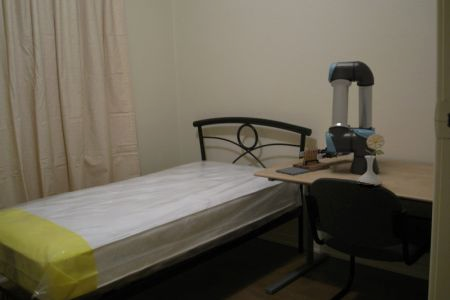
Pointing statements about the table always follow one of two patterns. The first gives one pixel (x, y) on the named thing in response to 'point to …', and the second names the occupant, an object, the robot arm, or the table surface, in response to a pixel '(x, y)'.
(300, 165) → the walnut caddy
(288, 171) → the slate mat
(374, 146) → the flower in vase
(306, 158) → the ammunition clip
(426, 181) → the table surface
